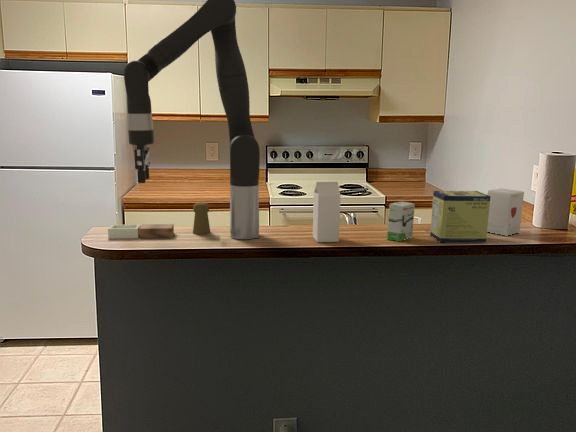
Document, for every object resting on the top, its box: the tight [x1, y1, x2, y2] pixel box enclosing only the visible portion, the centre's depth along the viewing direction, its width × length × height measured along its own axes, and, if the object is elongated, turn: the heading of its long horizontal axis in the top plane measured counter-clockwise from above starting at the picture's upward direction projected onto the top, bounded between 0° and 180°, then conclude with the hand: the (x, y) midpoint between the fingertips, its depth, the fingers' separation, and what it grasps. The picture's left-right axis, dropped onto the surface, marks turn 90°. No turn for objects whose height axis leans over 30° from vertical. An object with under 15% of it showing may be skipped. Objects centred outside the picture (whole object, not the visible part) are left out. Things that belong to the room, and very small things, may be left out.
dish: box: [107, 224, 142, 239], centre depth 167 cm, size 9×6×4 cm, turn 97°
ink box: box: [386, 200, 416, 242], centre depth 172 cm, size 9×5×12 cm, turn 137°
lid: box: [139, 223, 175, 239], centre depth 168 cm, size 10×6×3 cm, turn 97°
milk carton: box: [312, 181, 342, 243], centre depth 168 cm, size 7×7×19 cm
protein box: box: [429, 190, 491, 243], centre depth 172 cm, size 10×16×16 cm
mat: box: [140, 238, 171, 240], centre depth 168 cm, size 9×9×1 cm
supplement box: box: [487, 188, 525, 237], centre depth 182 cm, size 9×9×15 cm
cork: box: [192, 201, 211, 236], centre depth 172 cm, size 6×6×11 cm
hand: (143, 181), depth 164 cm, fingers open, 8 cm apart
